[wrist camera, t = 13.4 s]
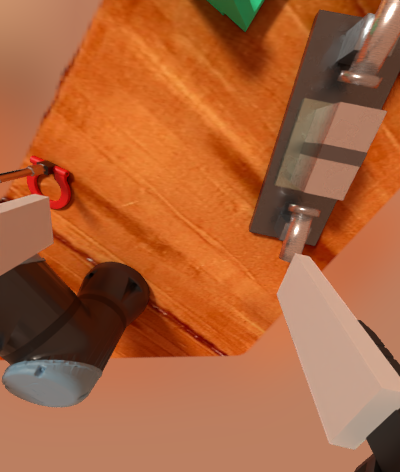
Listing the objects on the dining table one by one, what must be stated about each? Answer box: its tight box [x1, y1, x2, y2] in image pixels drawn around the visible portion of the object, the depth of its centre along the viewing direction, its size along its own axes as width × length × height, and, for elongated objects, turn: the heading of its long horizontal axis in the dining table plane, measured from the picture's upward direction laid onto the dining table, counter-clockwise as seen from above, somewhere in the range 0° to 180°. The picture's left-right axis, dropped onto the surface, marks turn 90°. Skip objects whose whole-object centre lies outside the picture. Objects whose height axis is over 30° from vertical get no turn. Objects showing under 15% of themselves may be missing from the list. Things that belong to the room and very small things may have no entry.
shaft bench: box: [249, 0, 400, 263], centre depth 29 cm, size 32×12×9 cm, turn 169°
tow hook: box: [0, 156, 71, 209], centre depth 36 cm, size 8×13×9 cm
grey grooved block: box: [290, 102, 387, 201], centre depth 28 cm, size 11×5×7 cm, turn 169°
